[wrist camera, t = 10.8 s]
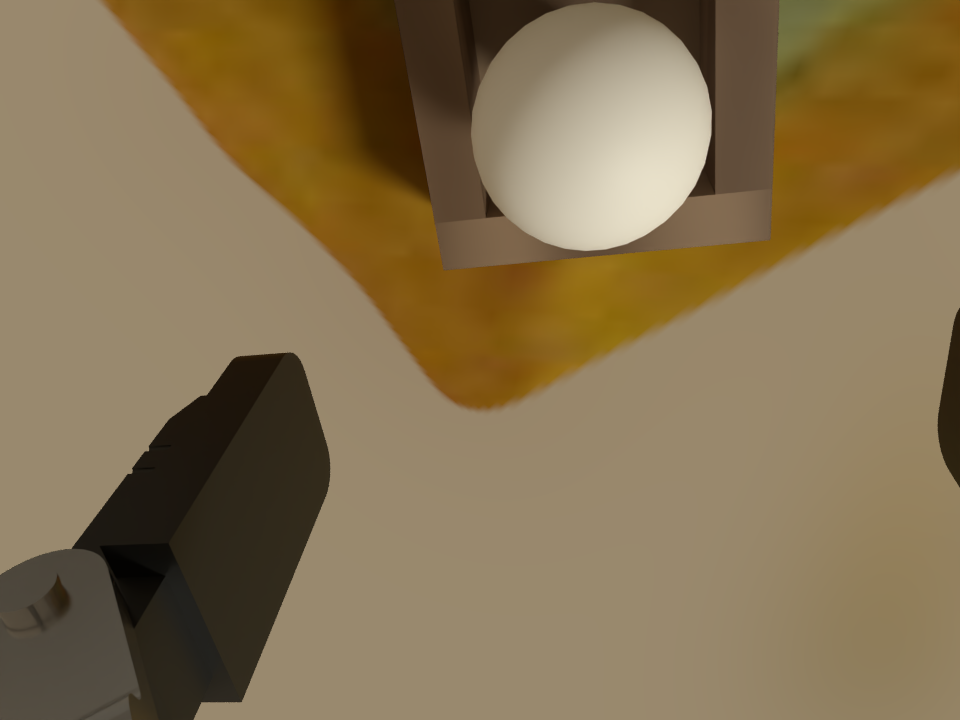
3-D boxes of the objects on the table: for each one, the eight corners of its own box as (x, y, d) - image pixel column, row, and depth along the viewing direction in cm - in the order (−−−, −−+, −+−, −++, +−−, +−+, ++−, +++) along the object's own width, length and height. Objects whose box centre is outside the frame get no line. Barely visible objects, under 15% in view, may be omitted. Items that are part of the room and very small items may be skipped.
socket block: (749, -148, 25) (784, -153, 21) (743, 189, 31) (770, 239, 26) (410, -90, 27) (378, -84, 23) (461, 218, 32) (443, 270, 28)
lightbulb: (715, 70, 27) (787, 169, 18) (582, 192, 30) (583, 334, 20) (592, -72, 25) (599, -46, 16) (462, 71, 28) (402, 166, 19)
